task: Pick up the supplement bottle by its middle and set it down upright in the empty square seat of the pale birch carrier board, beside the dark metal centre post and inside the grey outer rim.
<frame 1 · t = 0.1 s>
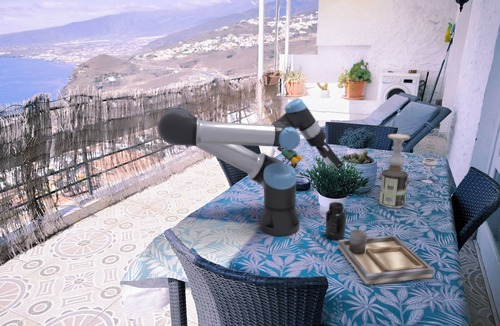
hand: (340, 173, 139), 15 cm above the table, tool tilted 35°, fingers open, 13 cm apart
candle holder: (393, 181, 174), on the table
supplement bottle: (334, 235, 120), on the table
carrier board: (381, 261, 104), on the table
coffee can: (391, 203, 146), on the table
wineglass: (427, 181, 172), on the table
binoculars: (289, 171, 192), on the table
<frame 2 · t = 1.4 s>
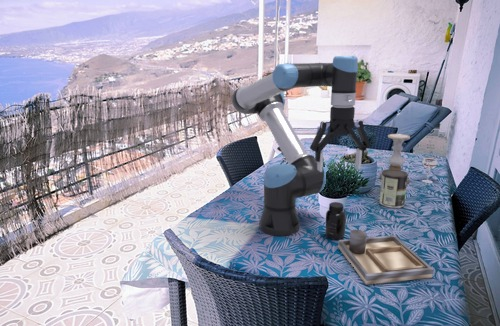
hand: (338, 169, 113), 25 cm above the table, tool pointing down, fingers open, 13 cm apart
nothing on the table moved.
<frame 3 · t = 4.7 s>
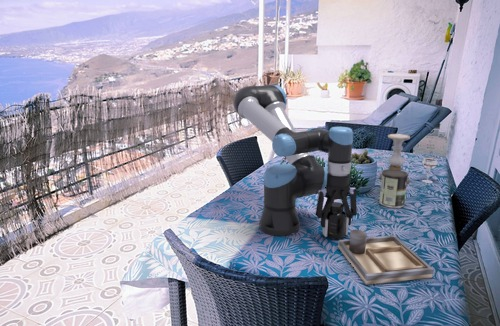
hand: (334, 233, 119), 1 cm above the table, tool pointing down, fingers closed on supplement bottle, 7 cm apart
supplement bottle: (334, 235, 120), on the table, touching gripper
everything else where it was.
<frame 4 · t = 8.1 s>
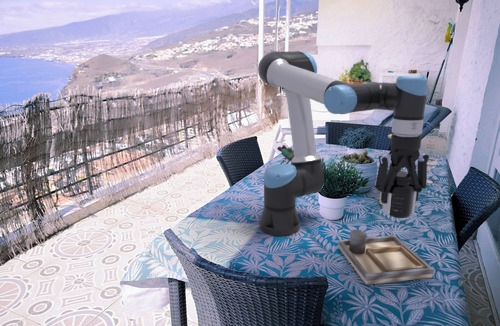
hand: (398, 212, 97), 17 cm above the table, tool pointing down, fingers closed on supplement bottle, 7 cm apart
supplement bottle: (397, 214, 97), point 17 cm above the table, touching gripper
everything else where it was.
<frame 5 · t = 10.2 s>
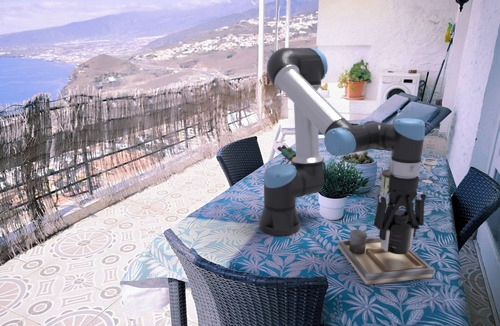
hand: (395, 247, 100), 6 cm above the table, tool pointing down, fingers closed on supplement bottle, 7 cm apart
supplement bottle: (395, 249, 100), point 5 cm above the table, touching gripper
everything else where it was.
when the fingers open (3 cm above the table, at t = 11.6 s): supplement bottle drops 2 cm, resting on carrier board.
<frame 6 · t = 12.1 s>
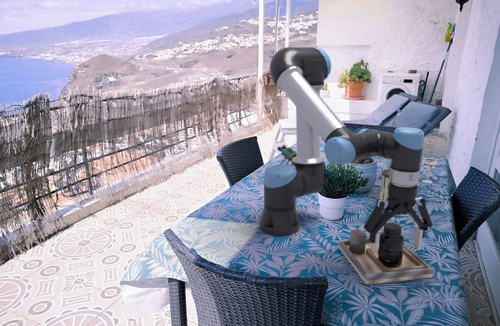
hand: (395, 249, 100), 5 cm above the table, tool pointing down, fingers open, 13 cm apart
supplement bottle: (389, 262, 101), point 1 cm above the table, touching carrier board
everything else where it was.
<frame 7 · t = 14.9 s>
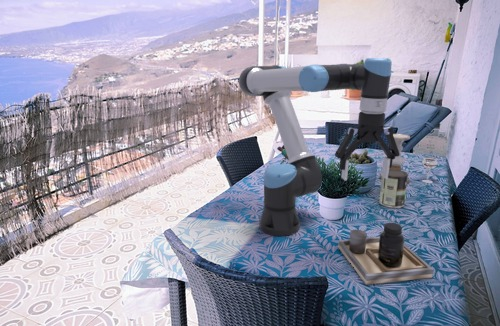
hand: (364, 178, 107), 24 cm above the table, tool pointing down, fingers open, 13 cm apart
nothing on the table moved.
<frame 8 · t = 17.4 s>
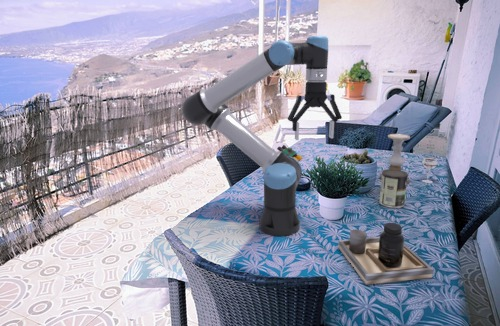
hand: (313, 138, 127), 32 cm above the table, tool pointing down, fingers open, 13 cm apart
nothing on the table moved.
at the end: supplement bottle 1.4 cm from the target spot on the carrier board, point 1.0 cm above the carrier board's base; supplement bottle tilted 0°; the gripper is holding nothing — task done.
